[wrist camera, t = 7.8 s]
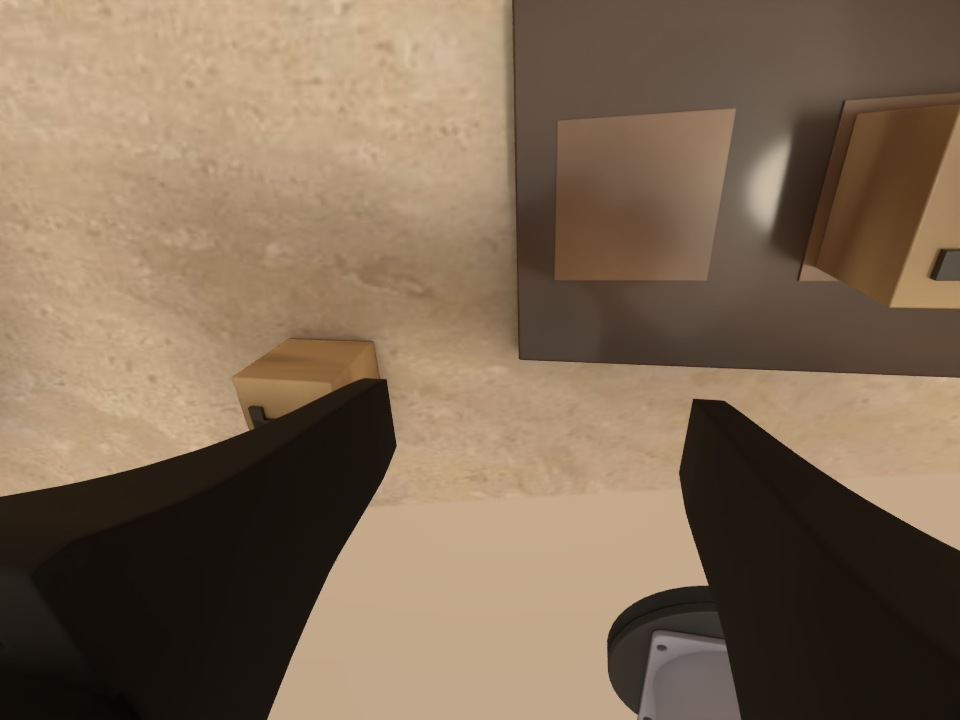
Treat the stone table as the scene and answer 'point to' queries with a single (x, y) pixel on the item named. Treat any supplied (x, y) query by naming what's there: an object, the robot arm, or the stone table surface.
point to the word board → (712, 179)
